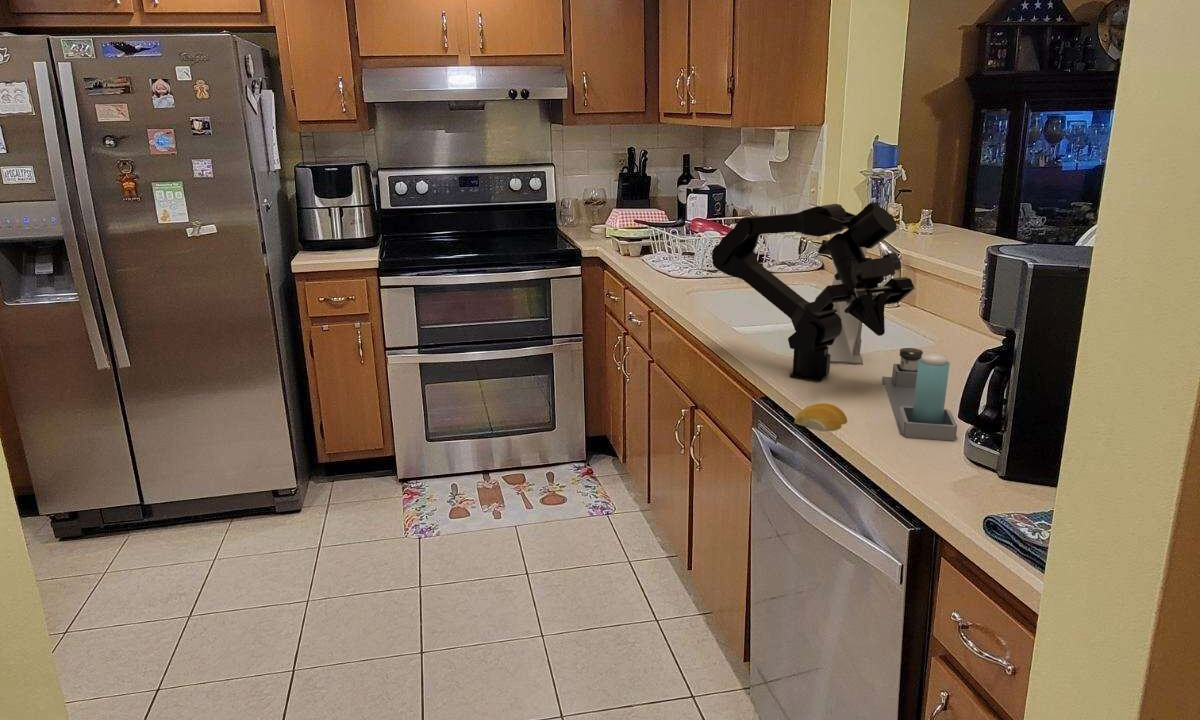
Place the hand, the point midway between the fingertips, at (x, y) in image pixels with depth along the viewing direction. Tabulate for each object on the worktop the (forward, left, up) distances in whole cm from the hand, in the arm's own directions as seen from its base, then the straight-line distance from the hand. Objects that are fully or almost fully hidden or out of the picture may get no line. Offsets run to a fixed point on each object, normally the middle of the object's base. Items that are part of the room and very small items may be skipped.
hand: (881, 334), depth 152 cm
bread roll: (-5, -17, -14) cm, 22 cm away
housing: (+7, 0, -13) cm, 15 cm away
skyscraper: (-12, +23, -13) cm, 30 cm away
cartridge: (+11, -12, -12) cm, 20 cm away
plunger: (+4, +11, -12) cm, 17 cm away
